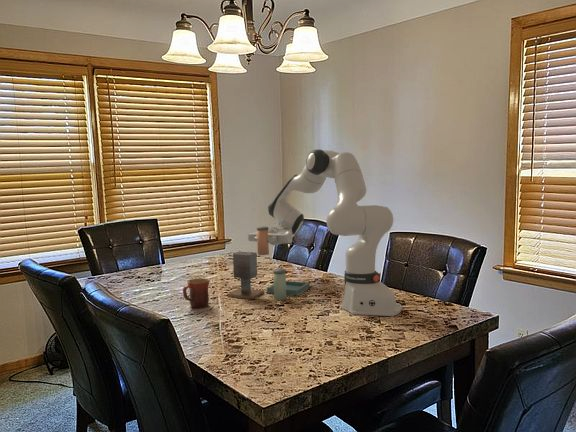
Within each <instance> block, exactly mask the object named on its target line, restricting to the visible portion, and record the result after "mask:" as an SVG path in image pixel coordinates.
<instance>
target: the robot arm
mask: <svg viewBox="0 0 576 432" xmlns="http://www.w3.org/2000/svg"><path fill="white" fill-rule="evenodd" d="M305 161H306V162H305V165H304V167H303V169H302V171H301V172H300V174H294V175H292V176H291V177H290V178H288V180H287V181H286V183H285V184H284V185H283V187H282V188H281V189H280V191H279V192H278V194H276V196H275V197H274V198H273V200H272V201H271V202H270V203H269V205H268V207H267V210H268V215H269V216H270V217H272V218H274V219H275V220H277V221H278V222H279V223H281V224H276V225H273V226H270V227H268V238H267V242H269V244H270V245H272V246H278V245H281V244H283V245H284V244H285V245H286V244H292V243H293V238H294V236H295V235H296V234H297V233H299V232H300V230H301V229H302V227H303V226H304V224H305V217H304V214H303V213H302V212H300V211H299V210H298V209H297V208H295V207H294V206H293V205H291V204H290V203H289V202H288V200H287V198H288V197H289V196H290V195H291V194H292V192H293V191H297V192H300V193H303V194H315V193H317V192H319V191H320V189H321V188H322V187H323V185H324V183H326V180H327V178H329V179H334V183H335V188H336V193H337V202H336V204H335V205H334V207H333V208H332V209H330V211H329V212H328V213H327V216H326V226H327V229H328V230H329V232H330V233H331V234H332V235H335V236H342V237H347V236H358V239H357V241H356V242H355V243H353V244H352V245H350V246H348V247H347V249H346V251H345V270H344V273H343V274H344V285H345V286H344V294H343V301H342V303H341V308H342V309H343V310H345V311H347V312H349V314H350V315H363V316H380V317H381V316H382V317H393V316H397V315H399V314H400V313H402V310H403V307H402V304H401V303H398V302H397V300H396V296H395V293H394V291H393V290H392V289H391V288H390V287H388V286H387V285H385V283H384V282H382V281H381V274H382V273H381V272H378V271H376V254H377V250H378V246H379V244H380V241H381V240H382V238H383V237H384V236H385V235H386V234H387V233H388V232H389V231H390V230H391V229H392V227H393V224H394V215H393V212H392V210H391V209H390V208H389V207H387V206H383V205H375V204H374V205H358V204H357V203H358V202H359V201H361V200H362V199H364V197H365V196H366V193H367V185H366V181H365V179H364V176H363V173H362V169H361V167H360V163H358V160H357V158H356V157H355V155H354V154H353V153H351V152H349V151H343V152H338V151H333V150H325V149H323V150H322V149H313V150H311V151H310V152H309V153H308V154H307V157H306V160H305ZM247 241H248V242H257V231H254V232H249V233H248V234H247Z"/></svg>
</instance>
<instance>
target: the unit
mask: <svg viewBox="0 0 576 432" xmlns="http://www.w3.org/2000/svg"><path fill="white" fill-rule="evenodd" d="M257 255H258V252H251V251H238V252H235V253H233V254H232V260H233V261H232V263H233V266H232V267H233V278H235V279H240V287H239V288H237V289H235V290H233V291H231V292H228V294H227V297H228V298H235V299H244V300H245V299H246V300H253V301H254V300H255V299H257V298H258V297H260V296H262V295H263V294H265V290H262V289H261V290H260V289H252V285H251V282H252V281H251V279H253V278H255V277H257V276H258V258H257V257H258V256H257Z"/></svg>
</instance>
